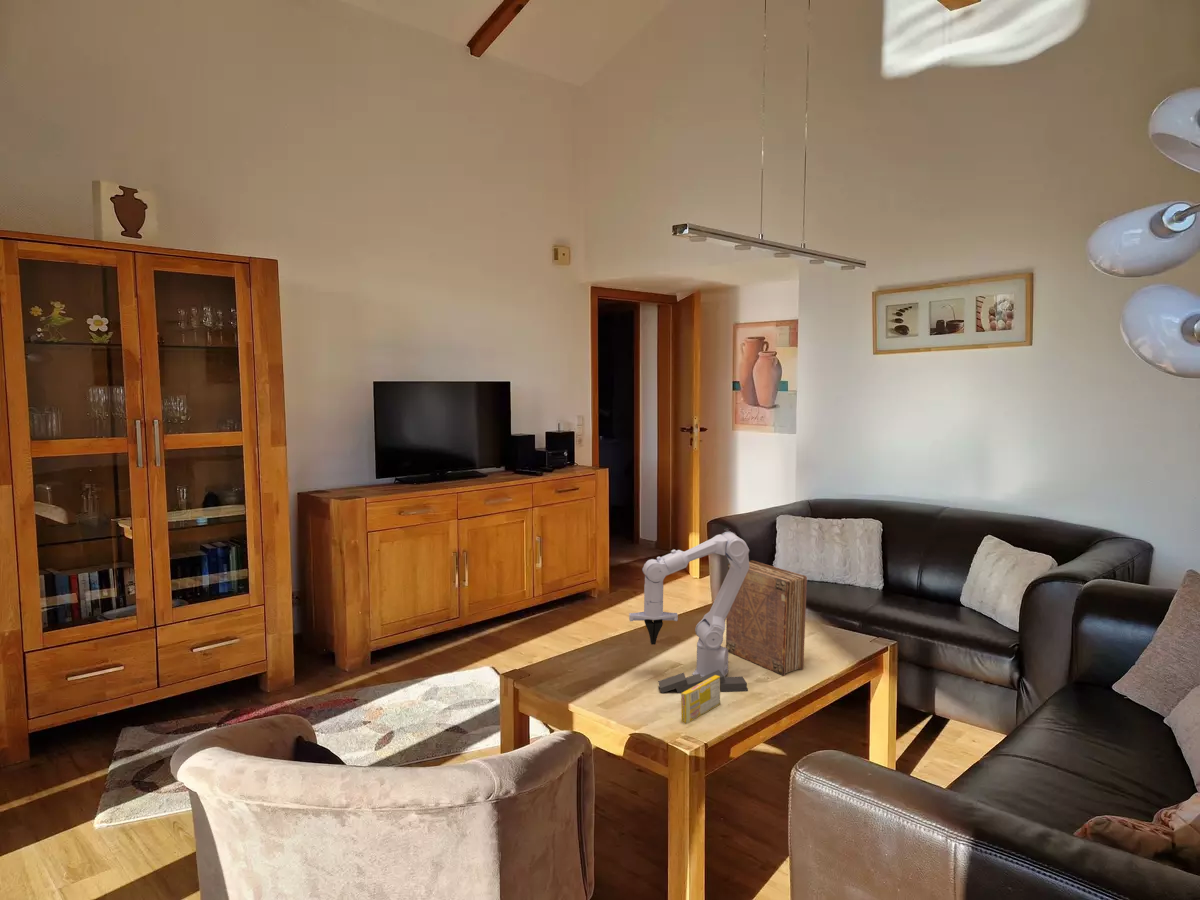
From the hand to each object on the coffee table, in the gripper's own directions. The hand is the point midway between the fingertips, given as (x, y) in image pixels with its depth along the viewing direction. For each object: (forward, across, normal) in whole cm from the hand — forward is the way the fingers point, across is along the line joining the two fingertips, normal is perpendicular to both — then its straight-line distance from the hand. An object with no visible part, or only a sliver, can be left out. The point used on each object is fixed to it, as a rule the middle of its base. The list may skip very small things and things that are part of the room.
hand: (653, 643), depth 238 cm
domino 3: (+10, -12, +9) cm, 18 cm away
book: (+11, -37, -12) cm, 40 cm away
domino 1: (+10, -1, +10) cm, 14 cm away
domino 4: (+9, -18, +9) cm, 22 cm away
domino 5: (+10, -19, +9) cm, 23 cm away
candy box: (+11, -11, +25) cm, 29 cm away
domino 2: (+10, -6, +10) cm, 15 cm away
